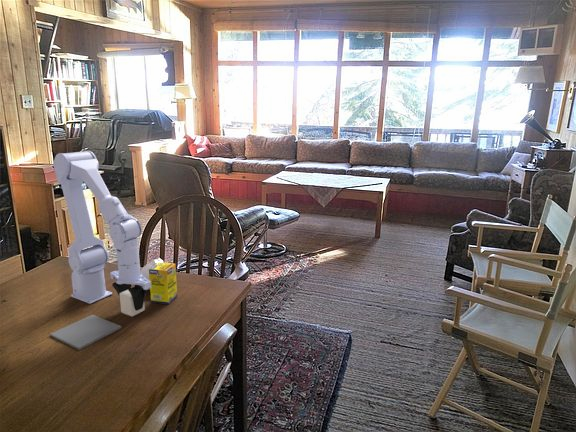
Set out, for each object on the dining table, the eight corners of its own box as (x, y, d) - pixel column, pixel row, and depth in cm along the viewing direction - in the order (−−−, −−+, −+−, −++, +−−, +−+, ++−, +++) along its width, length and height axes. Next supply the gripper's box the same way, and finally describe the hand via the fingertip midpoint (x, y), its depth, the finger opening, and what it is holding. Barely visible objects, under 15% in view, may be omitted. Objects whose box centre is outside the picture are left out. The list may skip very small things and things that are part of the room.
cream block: (121, 312, 119) (119, 293, 117) (134, 306, 123) (132, 287, 121) (132, 316, 117) (130, 297, 115) (144, 310, 120) (143, 291, 119)
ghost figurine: (169, 294, 131) (167, 264, 128) (138, 295, 129) (135, 265, 127) (172, 282, 139) (170, 254, 137) (143, 283, 138) (140, 255, 135)
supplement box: (169, 305, 124) (166, 270, 121) (150, 302, 125) (147, 268, 122) (178, 296, 129) (176, 263, 126) (160, 294, 130) (157, 261, 128)
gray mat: (50, 336, 106) (50, 333, 106) (92, 316, 116) (92, 314, 116) (79, 350, 101) (79, 347, 100) (121, 328, 111) (121, 326, 110)
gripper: (99, 261, 116) (104, 305, 120) (134, 272, 109) (138, 319, 112) (120, 253, 122) (124, 296, 125) (155, 263, 115) (158, 308, 118)
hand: (132, 306), depth 119 cm, fingers open, 5 cm apart
